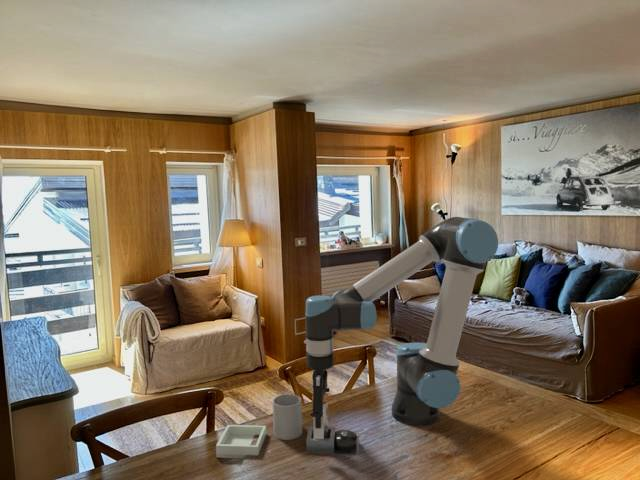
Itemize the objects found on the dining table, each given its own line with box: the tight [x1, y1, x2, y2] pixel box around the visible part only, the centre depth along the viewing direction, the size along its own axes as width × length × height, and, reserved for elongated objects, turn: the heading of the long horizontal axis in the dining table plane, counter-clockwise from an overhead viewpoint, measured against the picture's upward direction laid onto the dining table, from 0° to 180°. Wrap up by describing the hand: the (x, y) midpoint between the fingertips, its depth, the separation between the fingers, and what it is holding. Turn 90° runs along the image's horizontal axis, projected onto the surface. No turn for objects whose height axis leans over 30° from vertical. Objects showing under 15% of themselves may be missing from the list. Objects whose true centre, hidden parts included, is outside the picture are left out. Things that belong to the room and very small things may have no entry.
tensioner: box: [305, 426, 360, 456], centre depth 135 cm, size 14×10×4 cm
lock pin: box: [311, 392, 330, 439], centre depth 135 cm, size 5×5×14 cm
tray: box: [215, 424, 267, 459], centre depth 136 cm, size 12×12×3 cm
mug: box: [272, 393, 303, 441], centre depth 143 cm, size 12×8×11 cm
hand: (320, 425), depth 135 cm, fingers open, 13 cm apart
